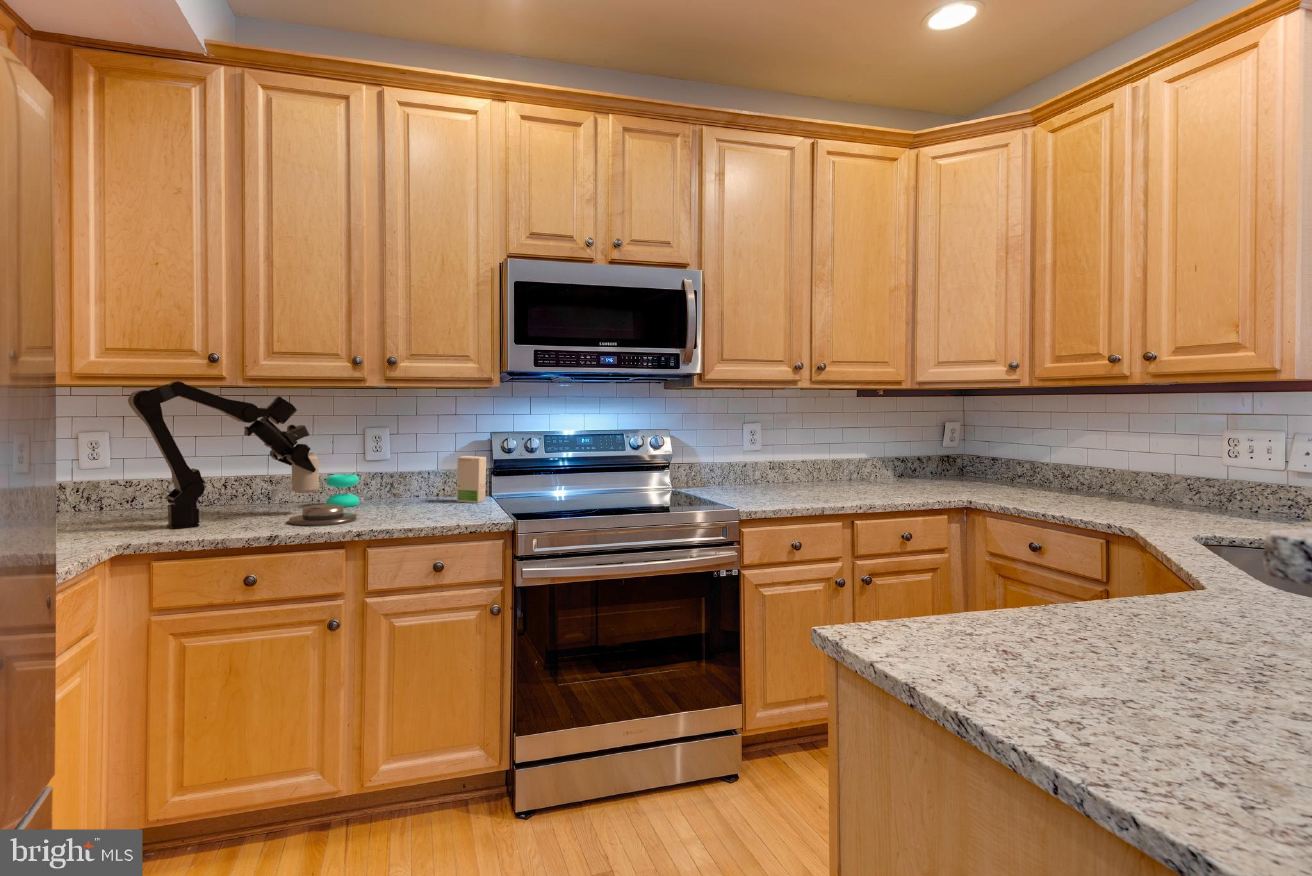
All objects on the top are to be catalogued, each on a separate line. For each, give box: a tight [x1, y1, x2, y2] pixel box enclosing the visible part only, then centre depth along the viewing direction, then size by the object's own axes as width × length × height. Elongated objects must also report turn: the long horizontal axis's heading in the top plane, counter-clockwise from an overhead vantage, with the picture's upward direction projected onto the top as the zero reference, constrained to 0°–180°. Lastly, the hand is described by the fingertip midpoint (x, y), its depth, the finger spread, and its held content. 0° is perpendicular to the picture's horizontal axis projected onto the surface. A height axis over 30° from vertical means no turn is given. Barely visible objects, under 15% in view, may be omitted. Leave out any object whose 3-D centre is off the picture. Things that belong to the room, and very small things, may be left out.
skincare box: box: [456, 455, 487, 504], centre depth 257 cm, size 8×7×16 cm
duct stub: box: [288, 503, 357, 527], centre depth 218 cm, size 18×18×4 cm
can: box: [291, 452, 320, 494], centre depth 230 cm, size 8×8×12 cm
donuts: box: [325, 473, 360, 508], centre depth 246 cm, size 10×10×10 cm
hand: (309, 470), depth 231 cm, fingers closed on can, 7 cm apart
